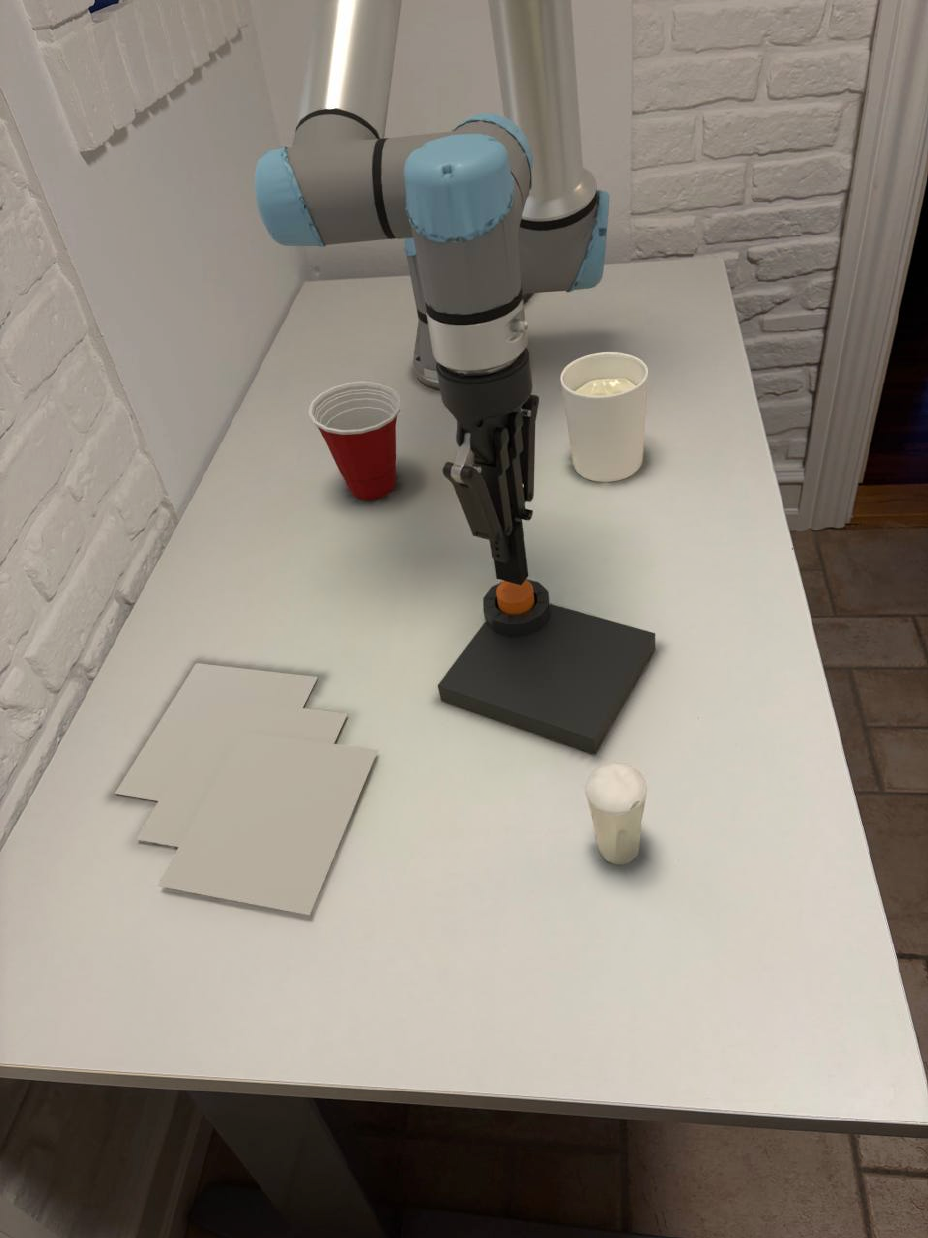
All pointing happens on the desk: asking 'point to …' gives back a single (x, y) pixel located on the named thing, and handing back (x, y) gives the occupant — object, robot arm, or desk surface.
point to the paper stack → (248, 787)
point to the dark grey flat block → (549, 670)
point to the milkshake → (617, 810)
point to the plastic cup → (360, 434)
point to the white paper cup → (606, 414)
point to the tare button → (515, 597)
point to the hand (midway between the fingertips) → (512, 577)
